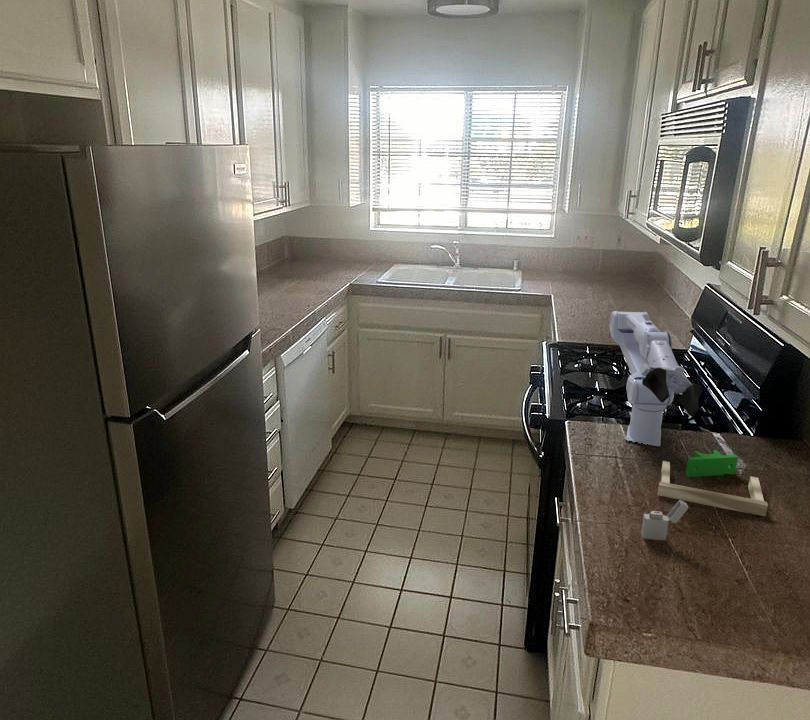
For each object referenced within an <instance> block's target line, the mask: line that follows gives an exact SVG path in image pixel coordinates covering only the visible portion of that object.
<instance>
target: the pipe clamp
mask: <svg viewBox="0 0 810 720" xmlns="http://www.w3.org/2000/svg"><path fill="white" fill-rule="evenodd" d="M738 460H739V456H737V455H736V454H727V455H723V454H722V453H720V452H719V451H718V450H717V449H713V450H712V453H711V454H708V453H702V452H700V451H699V450H694V451H693V456H692V457H691V456H690V457H689V456H688V458H687V464H686V469H685V476H686V477H688V478H693V477H710V476H711V477H712V476H725V475H724V474H730V475H736V471H737V464H738V462H739V461H738Z"/></svg>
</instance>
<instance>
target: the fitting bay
mask: <svg viewBox="0 0 810 720" xmlns="http://www.w3.org/2000/svg"><path fill="white" fill-rule="evenodd" d="M670 479H671V462H670V461H666V460H662V464H661V472H660V481H659V482H658V487H657V488H658V490H657V496H660V497H664V498H670V499H675V500H678V501H679V500H681V501H683V502H685V501H686V502H690V503H695V504H699V505H700V504H701V505H705V506H709V507H710V506H711V507H715V508H719V509H726V510H731V511H734V512H735V511H736V512H741V513H745V514H751V515H757V516H759V517H760V516H762V517H766V516H767V512H768V507H769V504H768V501H765V499H764V495H763V492H762V487H761V484H760V480H759V479H760V478H759V477H755V476H749V479H748V486H747V488H748V492H749V496H750V498H749V497H743V496H738V495H734V494H727V493H723V492H722V493H721V492H719V491H718V492H716V491H711V490H706V489H700V488H696V487H691V486H685V485H680V484H675V483H671V480H670Z"/></svg>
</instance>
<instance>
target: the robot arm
mask: <svg viewBox="0 0 810 720" xmlns="http://www.w3.org/2000/svg"><path fill="white" fill-rule="evenodd" d="M650 319H651V318H650V315H649V313H648V311H643V312H641V311H636V312H635V311H617V310H613V311H612V312H611V313H610V317H609V322H608V323H609V333H610V335H611V338H612V339H613V342H615V343H616V344H618V345H619V348H620V349H621V352H622V355H623V357H624V360H625V361H626V364H627V366H628V369H629V371H630V373H631V374H630V375H629V376H628V378H627V380H626V387H625V388H626V395H627V400H628V402H629V403H630V404H631V405H632V407H631V414H630V422H629V425H627V426H628V427H627V430H626V437H625V441H626V440H627V441H626V442H629V441H632V442H631V443H635V442H638V443H637V444H641V443H643V444H642V445H647V444H648V446H654V447H661V443H662V441H661V438H662V430H661V428H662V422H663V416H664V411H665V410H667V407H668V406H670V405H672V403H673V402H674V399H675V398H674V397H675V394H676V393H677V394H681V396H680V397H679V398H678V399H677V400H676V401H677V403H679V404H681V405H682V406H683V408H684V409H685V411H686V413H687V415H688V416H690V417H694V415H696V413H698V412H699V398H700V396H701V393H702V387H701V386H700V385H699V384H696V383H695V382H693V383H692V382H690V380H689V379H688V377H686V375H684V373H685V372H686V370H685V368H684V367H683V366H680V365H679V364H678V361H677V360H676V357H675V355H674V353H673V350H672V348H673V339H672V338H673V337H672V335H671V333H670V331H664V332H662V331H661V330H660V329H659V328H658V327H657V326H656V325H655V324H654V322H653V321H652V320H650Z"/></svg>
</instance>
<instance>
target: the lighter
mask: <svg viewBox="0 0 810 720" xmlns="http://www.w3.org/2000/svg"><path fill="white" fill-rule="evenodd" d="M688 509H689V506H688V503H687V502H685V501H684V500H679V499H678V501H677V502H676V503H675V504H674V505H673V507H672V508H671V510H669V512H668V513H667V515H664V514H663V512H662V511H660V510H659V511H656V510H652V511H651V512H649V513H644V514H643V517H642V525H641V529H640V535H641V538H642V539H643V540H656V541H666V538H667V535H668V534H667V532H668V526H669V521H670V522H671V523H673V524H674V525H675V524H677V523H678V522H679V520H681V518H682V517H683V515H684V514H685V513H686V512H687V511H688Z"/></svg>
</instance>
